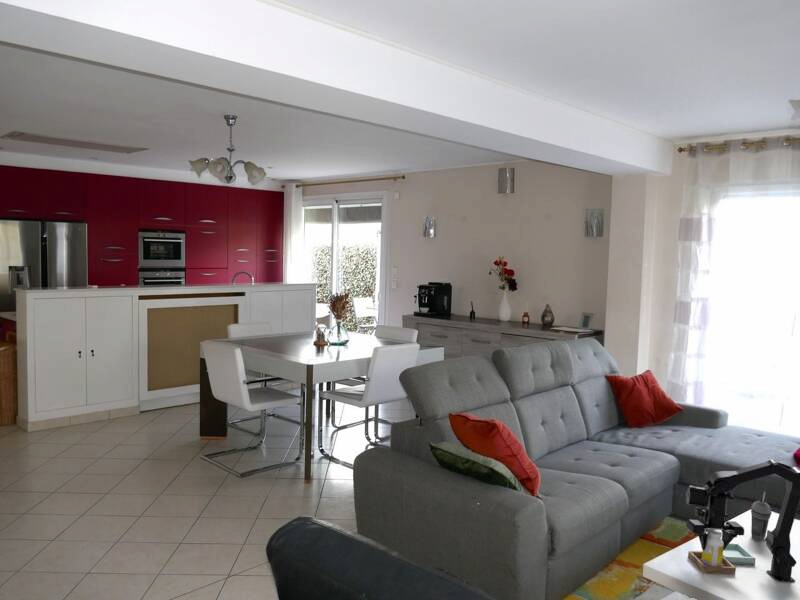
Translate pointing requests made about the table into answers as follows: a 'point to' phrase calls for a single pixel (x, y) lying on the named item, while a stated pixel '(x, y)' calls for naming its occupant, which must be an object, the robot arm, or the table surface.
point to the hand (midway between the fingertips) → (712, 549)
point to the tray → (738, 554)
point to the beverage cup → (760, 519)
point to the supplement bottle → (713, 549)
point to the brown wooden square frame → (728, 568)
